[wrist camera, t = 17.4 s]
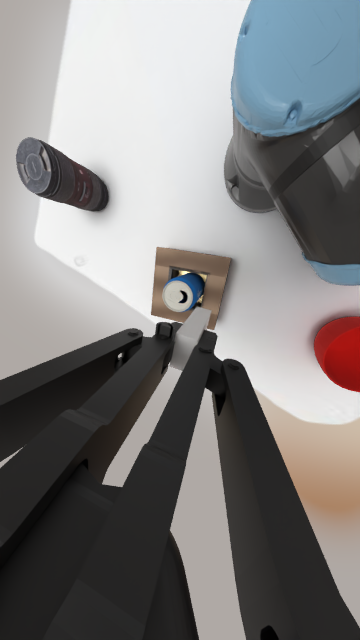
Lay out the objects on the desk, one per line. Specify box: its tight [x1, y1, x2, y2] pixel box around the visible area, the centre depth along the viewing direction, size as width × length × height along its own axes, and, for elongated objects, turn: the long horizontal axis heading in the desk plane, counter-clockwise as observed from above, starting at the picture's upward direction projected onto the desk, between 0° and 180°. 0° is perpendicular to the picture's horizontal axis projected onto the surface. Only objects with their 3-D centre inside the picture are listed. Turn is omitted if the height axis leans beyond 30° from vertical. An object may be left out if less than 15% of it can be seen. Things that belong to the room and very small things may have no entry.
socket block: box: [151, 247, 231, 330], centre depth 41 cm, size 15×15×6 cm
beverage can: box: [162, 273, 205, 312], centre depth 37 cm, size 6×6×12 cm
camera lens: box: [16, 137, 108, 211], centre depth 36 cm, size 8×8×15 cm
